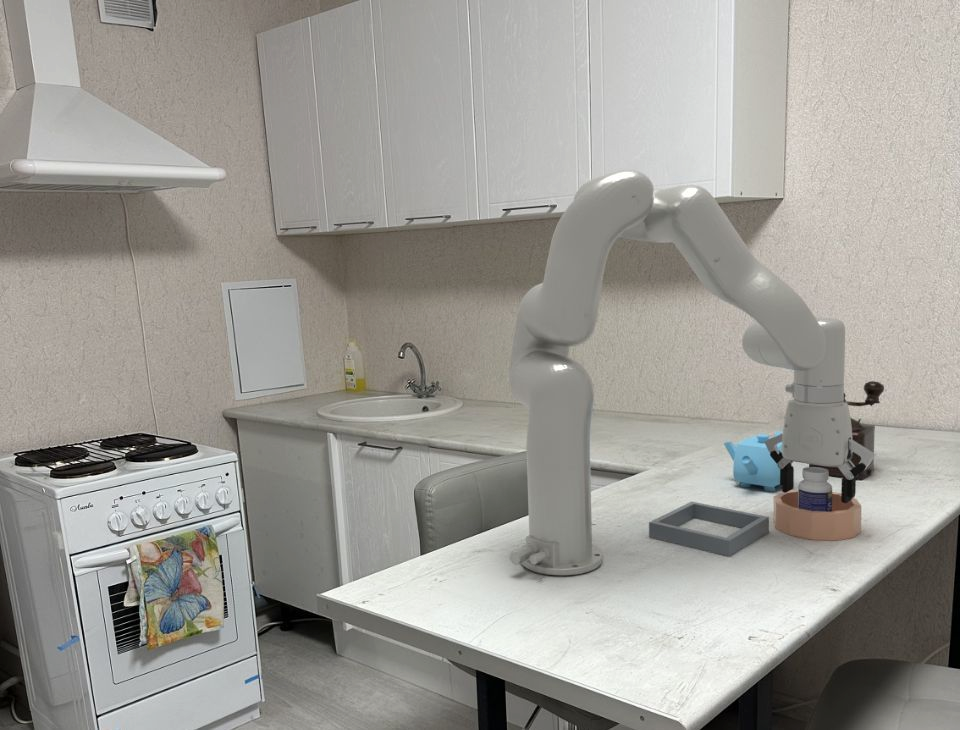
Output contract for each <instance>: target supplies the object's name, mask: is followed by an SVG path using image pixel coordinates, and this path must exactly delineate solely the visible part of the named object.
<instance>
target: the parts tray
mask: <svg viewBox="0 0 960 730" xmlns="http://www.w3.org/2000/svg"><path fill="white" fill-rule="evenodd" d="M692 519H698V520H702V519H703V521H708V522H713V523H716V522H717V523H716V524H722V525H726V526H730V527H734V528H735V527H736V528H739V530H737V531H735V532H733V533H732V534H730V535H728V536H720V535H716V534H712V533H708V532H703V531H700V530H694V529H689V528H686V527H681V526H680V525H683V524H685V523H686V522H688V521H690V520H692ZM769 528H770V517H769V516H765V515H760V514H756V513H751V512H747V511H740V510H736V509H733V508H727V507H721V506H717V505H710V504H707V503H706V504H705V503H702V502H701V503H700V502H697V501H696V502H695V501H690V502H687V503H686V504H684V505H682V506H680V507H677V508H676V509H675V508H674V509H673V510H671V511H668V512H666V513H665V514H663V515H661V516H659V517H657V518H655V519H652V520H650V521H649V522H648V537H649V538H652V539H656V540H659V541H660V540H661V541H664V542H669V543H673V544H676V545H680V546H685V547H688V548H692V549H697V550H701V551H705V552H710V553H714V554H717V555H721V556H725V557H728V558H729V557H731V556H733V555H734V554H736V553H738V551H741V550H742V549H744V548H746V546H748V545H750V544H752V543H753V542H755V541H756V540H757V539H759V538H761V537H763V536H764V535H766V534H767V533H769V532H770V529H769Z"/></svg>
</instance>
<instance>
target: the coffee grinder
mask: <svg viewBox="0 0 960 730" xmlns="http://www.w3.org/2000/svg"><path fill="white" fill-rule="evenodd" d="M863 391H864V392H865V394H866V398H865V399H864V401H862V402H858V401H847V399H846V393H845V392H844V403H847V404H848V406H850V407H865V406H870V407H873V405H875V404H880V403H881V402H880V396H881V395H882V394H883V392H884V391H885V387H884V384H883V383H881V382H878V381H875V380H872V381H871V380H869V381H868V382H865V383H864V385H863ZM850 419H851V426H852V440H854V441H855V442H857V443H858V444H860V445H862V446H863V447H865V448H867V449H868V450H870V451H871V452H873V453H874V454H875V429H876V427H875V425H874V424H864V423H861V420H862V418H859V419H858V420H857V419H854V418H852V417H851V416H850ZM874 460H875V457H874V458H873V460H872V461H871V463H870V464H869V466H868V468H867V469H865V470H864V471H863V472H861V473H860V474H859V475H858V476H856V481H862V480H863V479H865V478H866V477H868V476H870V475H871V474H872V473H873V471H874V468H875V464H874ZM860 461H861V457H860V456H859V455H858V454H856V453H854V452H853V453H852V458H851V462H852V463H853V464H854V466H857V465H858V464H859V462H860ZM808 467H819V468H824V469H827V470H828V471H829V477H832V478H840V479H843V478H845V476H844V474H843V473H842V472H841V471H840V469H839V468H838V467H827V466H820V465H813V464H808Z"/></svg>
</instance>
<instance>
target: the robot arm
mask: <svg viewBox="0 0 960 730" xmlns="http://www.w3.org/2000/svg"><path fill="white" fill-rule="evenodd" d="M618 238H622V239H623V238H624V239H628V240H634V241H641V242H647V243H648V242H649V243H659V244H660V243H662V244H664V243H665V244H667V243H673V244H674V246H675V248H677V250H678V251H679V253H680V254H681V256H682V257H683V258H684V260H685V261H686V262H687V264H688V265H689V267H690V268H691V269H692V271H693V272H694V273H695V275H696V277H697V278H698V280H699V281H700V282H701V284H702V285H703V287H704V288H705V289H706V290H707V291H708V292H709V293H711V294H712V295H713V296H714V297H717V298H718V299H720V300H721V301H723V302H725V303H727V304H729V305H732V306H734V308H738V309H739V310H741V311H742V312H745V314H747V315H748V316H749V317H751V318H753V320H754V321H755V322H753V323H751V324H750V325H749V326H748V327H747V328H746V330H744V333H743V335H742V339H741V340H742V341H741V343H742V345H741V346H742V349H743V351H744V353H745V354H746V356H747V357H748V358H749V359H751V360H752V361H753V362H756V363H758V364H761V365H765V366H770V367H776V368H781V369H787V370H791V371H793V382H792V383H791V384H786V386H785V392H786V393H790V394H792V398H793V399H791V400H788V402H787V406H786V410H785V415H784V421H783V428H782V434H781V435H778V436H775V437H774V436H772V437H769V438H770V439H768V440H766V441H765V444H766V447H767V449H768V451H769V452H770V456H771V458H772V459H773V460H774V461H775V462H776V463H777V467H778V468H779V469H780V485H779V486H780V487H781V492H785V493H786V492H788V491H791V490H794V487H795V486H794V485H795V484H794V482H795V479H794V478H795V477H794V475H795V468H794V466H793V465H792V466H791V463H792V462H793V461H794V462H795V463H802V464H807V465H809V464H813V465H820V466H827V467H838V468H839V469H840V471H841V472H842V473H843V474H844V476H845V478H841V492H840V493H841V502H842V503H848V502H849V501H850V500H852V498H855V496H856V492H857V491H856V485H857V483H856V481H857V480H856V476H858V475H859V474H860V473H861V472H863V471H864V470H865V469H867V468H868V466H869V464H870V463H871V461H872V460H873V458H874V459H875V456H876V455H875V452H874V453H873V452H871V451H870V450H868V449H867V448H865V447H863V446H862V445H860V444H858V443H857V442H855V441H854V440H852V426H851V419H850V417H851V414H850V409H849V405H848V404H847V403H844V393H845V363H846V362H845V358H846V326H845V324H844V322H843V321H842V320H841V319H838V318H835V317H833V318H832V317H815V315H814V313H813V312H812V311H811V309H810V307H809V306H808V304H807V303H806V302H805V301H804V300H803V298H802V297H801V295H799V294H798V293H797V291H795V290H794V289H793V288H792V286H790V285H789V284H787V283H786V282H785V281H784V280H783V279H782V278H780V277H779V276H778V275H776V273H774V272H773V271H772V270H771V269H769V268H768V267H767V266H765V264H763V263H762V262H761V261H759V260H757V258H756V257H755V256H754V255H753V254H752V252H751V251H750V249H749V248H748V246H747V244H746V243H745V242H744V240H743V239H742V237H741V236H740V234H739V233H738V231H737V230H736V228H735V227H734V225H733V224H732V222H731V221H730V219H729V217H728V216H727V215H726V213H725V211H723V209H722V208H721V206H720V205H719V203H718V202H717V200H716V199H715V198H714V196H713V195H712V194H711V192H709V191H708V190H707V189H706V188H704V187H702V186H699V185H694V184H689V185H688V184H687V185H681V186H675V187H670V188H666V189H665V188H664V189H663V188H662V189H661V188H660V189H659V188H658V189H657V188H655V187H654V183H653V182H652V181H651V179H650V178H649V177H648V176H647V175H646V174H644V173H642V172H640V171H637V170H632V169H622V170H617V171H615V172H611V173H607V174H605V175H602V176H599V177H596V178H593V179H590V180H587V182H585V183H583V184H582V185H581V186H580V187H579V188H578V190H576V192H575V195H574V197H573V200H572V202H571V203H570V204H569V205H568V207H567V208H566V209H565V210H564V212H563V214H562V215H561V216H560V219H559V220H558V222H557V224H556V227H555V229H554V232H553V234H552V238H551V242H550V246H549V250H548V257H547V261H546V266H545V269H544V270H545V271H544V276H543V281H542V282H541V283H538V284H536V285H534V286H533V287H532V288H530V289H529V290H528V291H527V292H526V293H525V295H524V296H523V298H522V299H521V302H520V304H519V307H518V311H517V314H516V317H515V319H516V320H515V326H514V333H513V339H512V345H511V354H510V360H509V369H508V384H509V387H510V391H511V393H512V395H513V396H514V398H515V399H516V400H517V402H519V403H520V404H521V405H523V406H524V407H526V408H527V409H528V410H529V415H528V422H527V423H528V424H527V430H526V431H527V432H526V471H527V472H526V473H527V474H526V477H527V501H528V504H527V505H528V528H529V529H528V535H527V536H525V544H524V545H523V546H522V548H519V549H516V550H514V551H512V552H510V554H509V560H510V562H511V563H512V564H513V565H515V566H517V565H519V564H521V565H522V566H523V567H524V568H526V569H527V570H530V571H532V572H535V573H538V574H542V575H546V576H547V575H548V576H549V575H551V576H573V575H580V574H586V573H588V572H591V571H593V570H595V569H598V567H600V566H601V565H602V563H603V551H602V550H601V549H600V548H599V547H598V546H596V545H595V544H593V525H592V479H591V478H592V477H591V476H592V475H591V474H592V471H591V426H592V425H591V424H592V417H593V412H594V411H593V409H594V401H595V390H594V389H595V388H594V385H593V380H592V378H591V376H590V374H589V372H588V371H587V369H586V367H584V366H583V365H582V364H580V363H579V362H578V361H577V360H575V359H573V358H571V357H569V352H570V348H573V347H579V346H581V345H582V344H584V343H586V342H587V341H588V340H589V339H590V338H591V337H592V335H593V334H594V331H595V329H596V325H597V322H598V321H597V320H598V313H599V307H600V299H601V293H602V287H603V279H604V273H605V269H606V263H607V260H608V257H609V253H610V251H611V249H612V247H613V245H614V244H615V242H616V240H617V239H618ZM780 442H782V453H781V452H780V451H779V450H778V447H777V444H778V443H780ZM853 452H854V453H856V454H858V455H859V456H860V457H861V461H860V462H859V464H858V465H857V466H854V464H853V463H852V462H851V458H852V453H853ZM794 462H793V463H794ZM793 463H792V464H793Z"/></svg>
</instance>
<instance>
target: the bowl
mask: <svg viewBox="0 0 960 730" xmlns="http://www.w3.org/2000/svg"><path fill="white" fill-rule="evenodd" d="M772 517H773V521H774V522H773V524H774V527H775V529H776V530H779V531H781V532H783V533H785V534H787V535H788V536H792V537H796V538H802V539H807V540H811V541H831V542H832V541H833V542H834V541H841V540H847V539H848V540H849V539H853V538H855V537H856V536H857V535H859V534H860V533H861V532H862V527H861V526H862V504H861V503H860V502H859V501H858V499H856V498H855V497H854V498H852V500H850V501H849V502H848V503H842V502H841V492H840V493H839V492H834V491H832V512H824V511H809V510H804V509H799V508H798V489H792V490H790V491H788V492H786V493H785V492H782V491H781V492H779V493H777V494H775V495H774V496H773V516H772Z"/></svg>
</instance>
